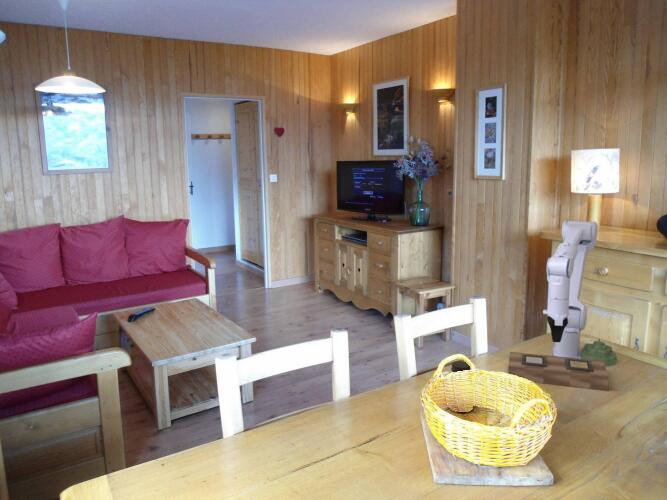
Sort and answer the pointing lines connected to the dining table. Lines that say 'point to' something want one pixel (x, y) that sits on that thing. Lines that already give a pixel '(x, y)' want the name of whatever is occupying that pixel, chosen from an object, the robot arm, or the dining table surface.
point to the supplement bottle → (459, 366)
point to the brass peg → (578, 364)
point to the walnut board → (560, 371)
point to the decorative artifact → (599, 353)
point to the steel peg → (533, 360)
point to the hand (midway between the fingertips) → (556, 341)
